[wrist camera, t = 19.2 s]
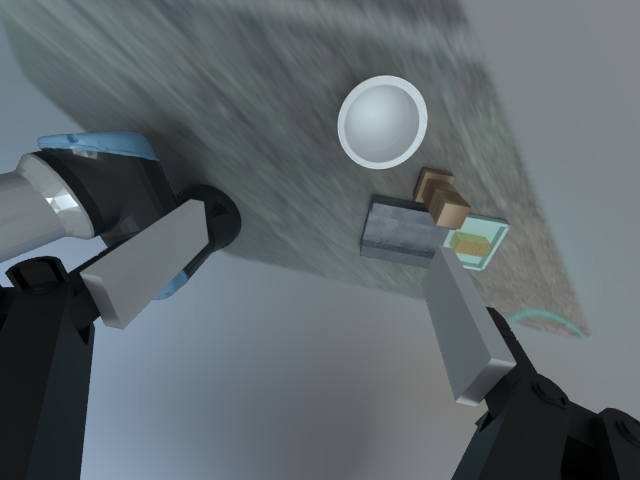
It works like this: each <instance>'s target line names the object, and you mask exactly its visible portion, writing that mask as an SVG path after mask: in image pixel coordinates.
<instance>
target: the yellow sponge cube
mask: <svg viewBox="0 0 640 480" xmlns="http://www.w3.org/2000/svg"><path fill="white" fill-rule="evenodd" d="M471 236H472V237H473V239H474V240H475V242H476V243H475V245H474V247H473V249H472V250H471V252H470V254H469V255H472V256H477V257H483V258H485V256H486V254H487V253H488V251H489V249H490V248H491V246H492V245H491V244H490V242H489V241H488V240H487V239H486V237H481V236H475V235H471Z"/></svg>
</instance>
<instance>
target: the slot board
mask: <svg viewBox="0 0 640 480" xmlns="http://www.w3.org/2000/svg"><path fill="white" fill-rule="evenodd" d="M450 230H455V231H456V230H457V229H455V228H449V227H444V226H438V225H436V224H435V222H434V220H433V218H432V216H431V214H430V213H429V211H428V209H427V207H426V205H425V204H424V203H418V202H413V201H407V200H401V199H396V198H390V197H385V196H379V195H373V197H372V201H371V205H370V209H369V213H368V216H367V220H366V224H365V228H364V232H363V236H362V240H361V243H360V256H365V257H370V258H376V259H381V260H386V261H391V262H396V263H402V264H407V265H412V266H417V267H422V268H429V266H430V263H431V261H432V259H433V257H434V255H435V253H436V250H437V248H438V246H443V244H444V242H445V240H446V238H447V236H448V234H449V231H450Z"/></svg>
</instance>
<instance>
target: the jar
mask: <svg viewBox="0 0 640 480" xmlns="http://www.w3.org/2000/svg"><path fill="white" fill-rule="evenodd" d="M426 127H427V109H426V105H425V102H424V100H423V98H422V96H421V94H420V93H419V91H418V90H417V89H416V88H415V87H414V86H413V85H412V84H411V83H409V82H408V81H406V80H404V79H402V78H399V77H395V76H386V75H385V76H377V77H373V78H370V79H368V80H365V81H364V82H362V83H360V84H359V85H358V86H356V87H355V88H354V89H353V90H352V91H351V92H350V93H349V95H348V96H347V97H346V99H345V100H344V102H343V104H342V107H341V109H340V112H339V116H338V135H339V139H340V142H341V145H342V147H343V149H344V150H345V152H346V153H347V155H348V156H349V157H350V158H351V159H352V160H354V161H355V162H356V163H358V164H360V165H362V166H364V167H367V168H372V169H386V168H390V167H394V166H396V165H398V164H400V163H402V162H404V161H405V160H407V159H408V158H409V157H410V156H411V155H412V154H413V153H414V152H415V151H416V150H417V148H418V147H419V145H420V144H421V142H422V140H423V138H424V135H425V132H426Z"/></svg>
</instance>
